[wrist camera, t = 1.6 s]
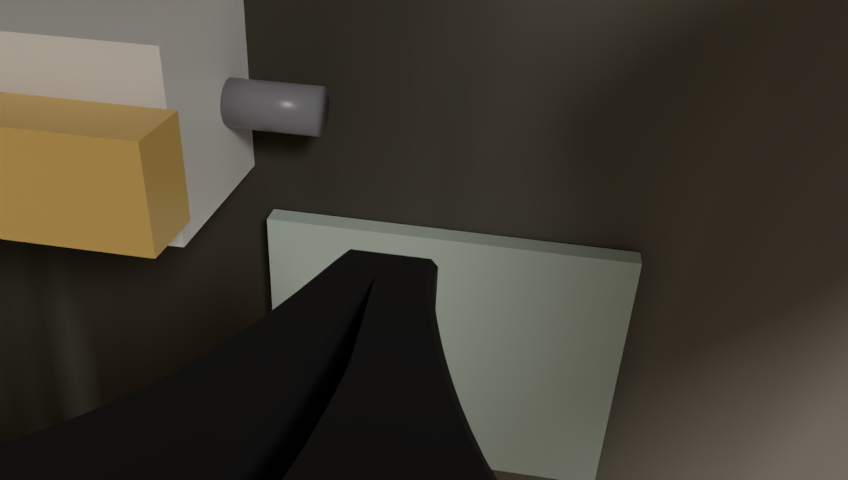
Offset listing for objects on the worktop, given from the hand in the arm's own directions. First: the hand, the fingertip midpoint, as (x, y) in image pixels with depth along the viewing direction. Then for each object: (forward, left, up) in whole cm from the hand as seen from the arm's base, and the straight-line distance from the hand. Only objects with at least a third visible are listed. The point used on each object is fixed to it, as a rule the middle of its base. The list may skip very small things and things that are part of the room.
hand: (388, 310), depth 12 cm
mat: (0, +7, -9) cm, 12 cm away
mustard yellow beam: (+10, 0, -4) cm, 10 cm away
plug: (+7, 0, -9) cm, 11 cm away
